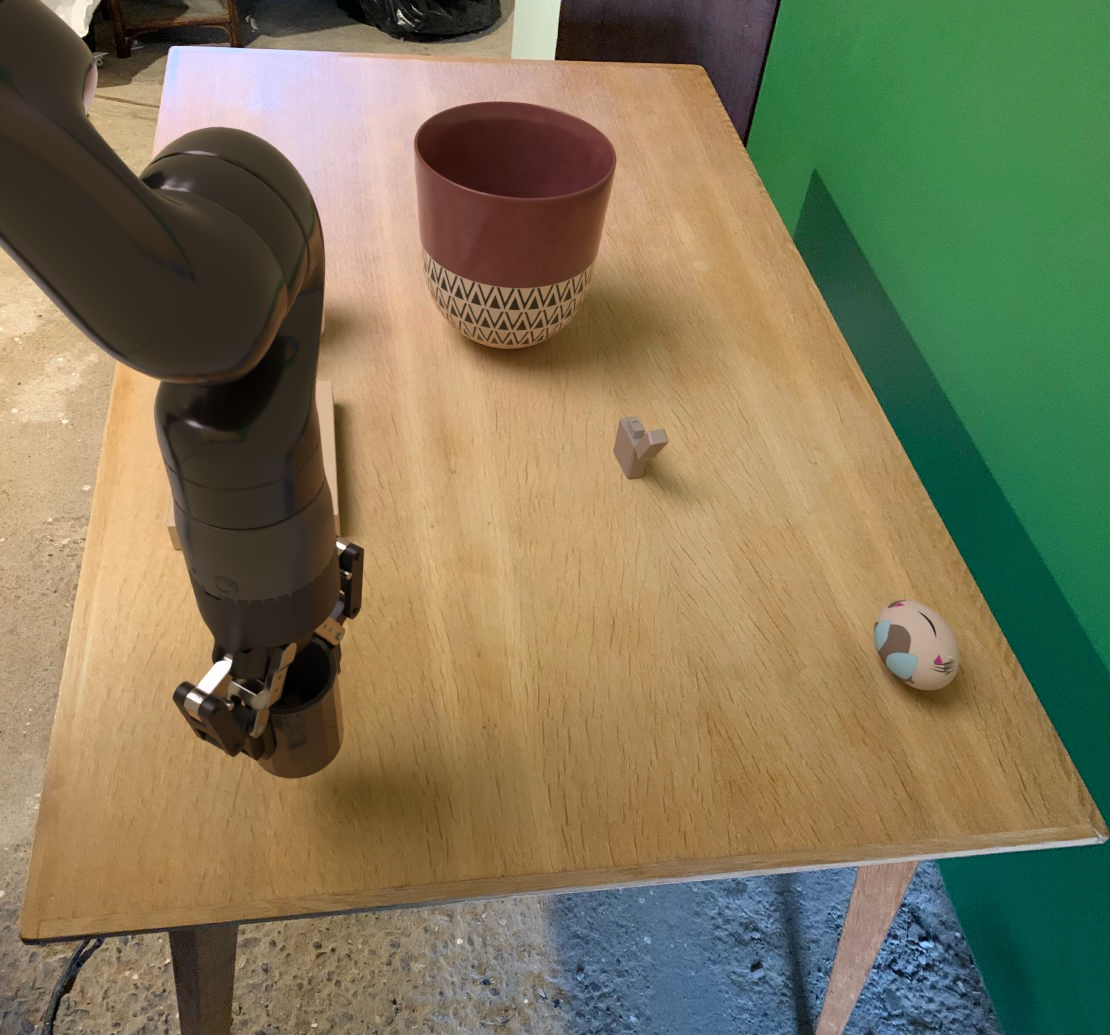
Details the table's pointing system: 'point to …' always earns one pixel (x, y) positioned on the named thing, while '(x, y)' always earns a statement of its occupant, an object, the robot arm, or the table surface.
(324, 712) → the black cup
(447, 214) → the planter
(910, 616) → the figurine
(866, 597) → the table surface
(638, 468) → the grey blocky piece
